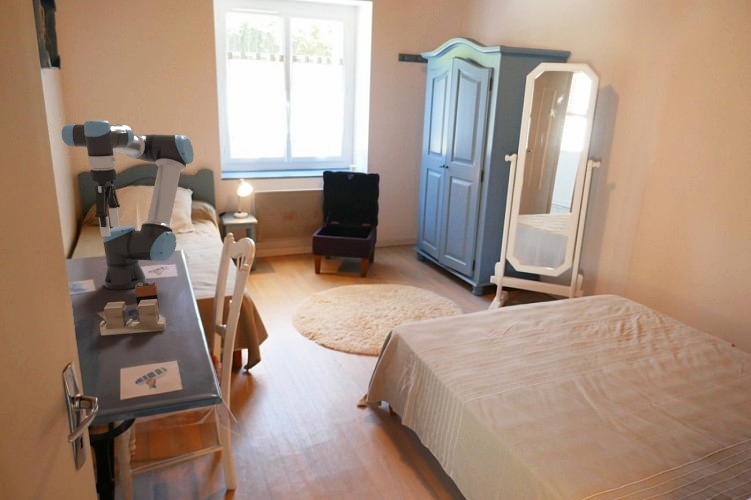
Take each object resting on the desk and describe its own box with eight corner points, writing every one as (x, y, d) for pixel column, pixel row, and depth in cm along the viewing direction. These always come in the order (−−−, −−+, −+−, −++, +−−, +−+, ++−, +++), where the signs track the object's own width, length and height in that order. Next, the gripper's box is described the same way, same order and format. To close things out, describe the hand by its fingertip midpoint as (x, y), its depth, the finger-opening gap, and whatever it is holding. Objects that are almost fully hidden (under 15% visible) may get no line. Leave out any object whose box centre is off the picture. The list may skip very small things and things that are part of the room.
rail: (104, 330, 168) (100, 303, 165) (166, 325, 172) (163, 298, 170) (100, 336, 163) (96, 309, 161) (164, 331, 168) (161, 304, 165)
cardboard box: (110, 322, 168) (107, 302, 166) (130, 321, 169) (127, 301, 167) (106, 329, 163) (103, 308, 161) (126, 327, 164) (124, 307, 162)
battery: (158, 309, 185) (155, 283, 182) (137, 312, 183) (134, 285, 180) (158, 305, 189) (156, 279, 186) (138, 307, 186) (135, 281, 184)
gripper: (105, 173, 160) (114, 240, 166) (123, 163, 183) (130, 222, 189) (78, 174, 158) (88, 241, 164) (99, 164, 181) (107, 223, 187)
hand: (110, 231), depth 177 cm, fingers open, 13 cm apart
